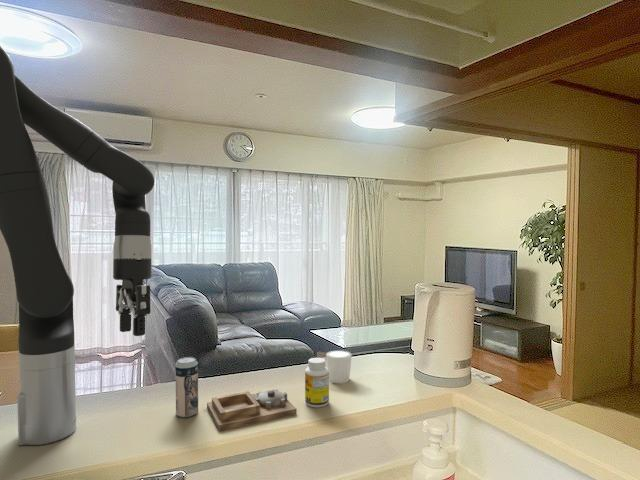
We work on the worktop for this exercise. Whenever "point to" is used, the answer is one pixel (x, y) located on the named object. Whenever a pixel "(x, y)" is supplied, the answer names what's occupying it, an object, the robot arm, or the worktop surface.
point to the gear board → (249, 408)
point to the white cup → (339, 366)
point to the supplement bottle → (316, 383)
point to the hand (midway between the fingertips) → (132, 333)
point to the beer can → (186, 386)
